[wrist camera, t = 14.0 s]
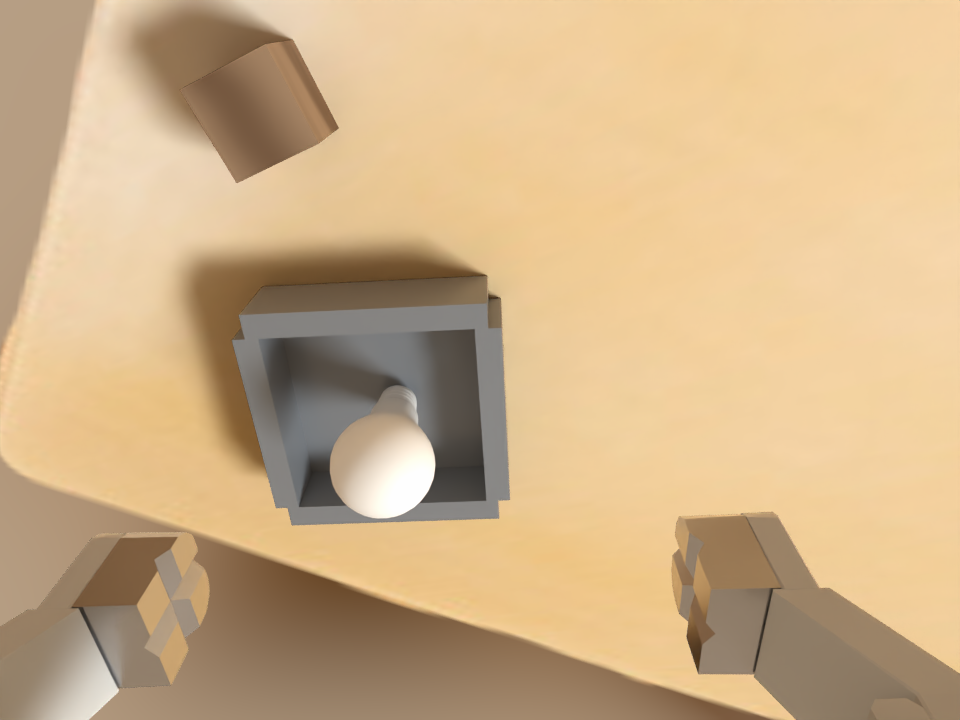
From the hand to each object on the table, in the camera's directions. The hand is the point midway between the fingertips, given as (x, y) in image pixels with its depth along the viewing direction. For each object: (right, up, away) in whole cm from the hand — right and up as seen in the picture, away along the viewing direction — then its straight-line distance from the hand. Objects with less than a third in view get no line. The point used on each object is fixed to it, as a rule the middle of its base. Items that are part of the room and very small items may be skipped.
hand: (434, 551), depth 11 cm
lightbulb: (-5, +1, +34) cm, 35 cm away
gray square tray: (-6, +1, +35) cm, 35 cm away
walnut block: (-11, +18, +26) cm, 33 cm away
